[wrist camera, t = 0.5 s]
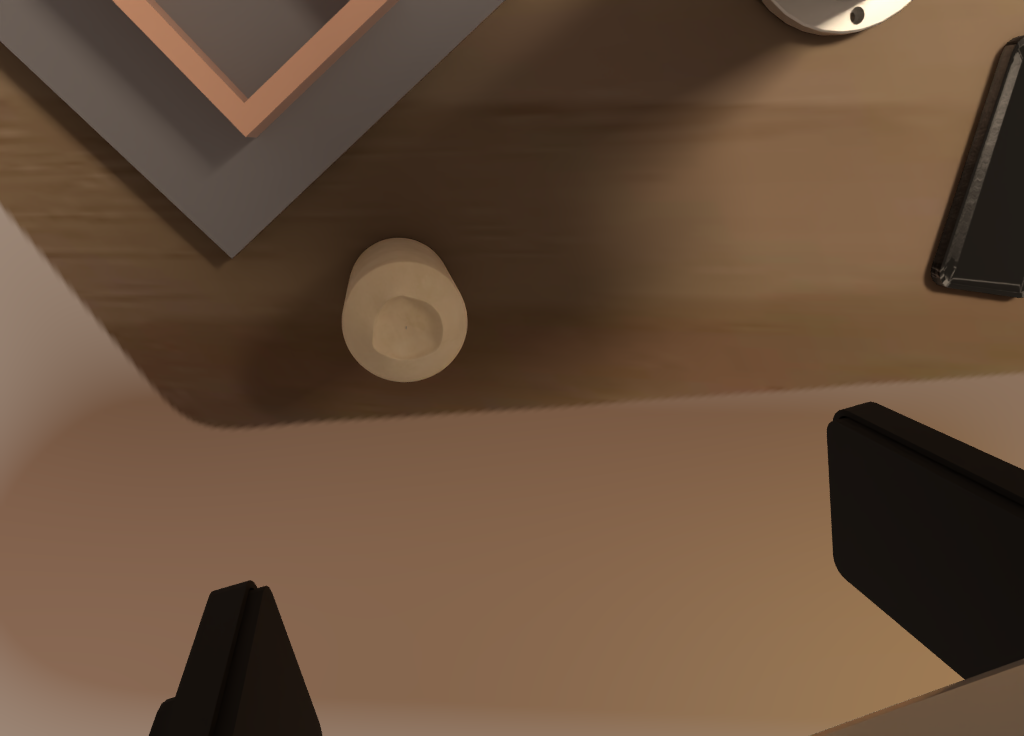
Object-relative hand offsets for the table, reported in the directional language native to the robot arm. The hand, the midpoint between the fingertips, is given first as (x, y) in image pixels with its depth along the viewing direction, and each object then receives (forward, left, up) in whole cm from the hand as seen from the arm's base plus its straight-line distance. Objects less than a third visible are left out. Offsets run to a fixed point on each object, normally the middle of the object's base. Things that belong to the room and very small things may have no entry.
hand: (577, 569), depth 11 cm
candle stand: (-3, -15, -29) cm, 33 cm away
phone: (-31, +21, -30) cm, 48 cm away
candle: (+2, 0, -30) cm, 30 cm away
